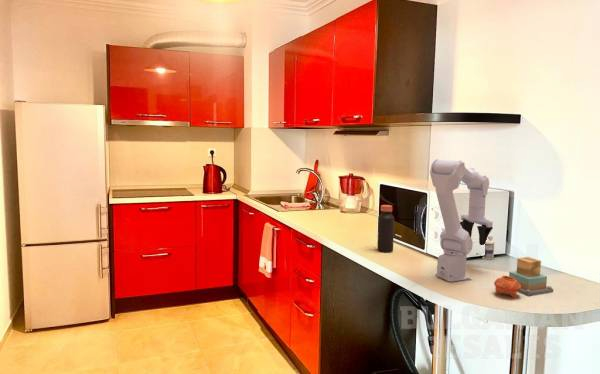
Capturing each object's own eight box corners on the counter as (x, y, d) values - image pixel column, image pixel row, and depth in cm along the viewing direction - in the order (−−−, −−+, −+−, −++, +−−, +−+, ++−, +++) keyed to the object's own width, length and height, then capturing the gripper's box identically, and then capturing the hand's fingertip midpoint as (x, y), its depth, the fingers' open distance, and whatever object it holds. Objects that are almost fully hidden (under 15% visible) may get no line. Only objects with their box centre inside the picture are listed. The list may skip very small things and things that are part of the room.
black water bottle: (380, 248, 204) (381, 204, 202) (395, 250, 201) (396, 205, 198) (374, 251, 199) (376, 206, 196) (389, 253, 195) (391, 207, 193)
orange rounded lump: (495, 287, 153) (502, 269, 151) (519, 298, 148) (526, 280, 146) (487, 293, 147) (494, 274, 145) (512, 304, 142) (519, 285, 140)
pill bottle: (481, 255, 194) (483, 232, 193) (495, 257, 190) (496, 234, 189) (477, 258, 190) (479, 235, 188) (491, 260, 186) (492, 237, 185)
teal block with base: (528, 296, 146) (529, 281, 145) (501, 285, 156) (502, 271, 156) (553, 291, 150) (554, 277, 149) (525, 281, 160) (526, 267, 160)
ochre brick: (528, 277, 149) (529, 262, 149) (516, 272, 154) (517, 258, 153) (540, 275, 151) (541, 260, 150) (527, 271, 156) (528, 256, 155)
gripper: (499, 209, 167) (497, 245, 168) (471, 203, 180) (469, 236, 182) (484, 210, 164) (482, 247, 166) (457, 204, 178) (455, 238, 179)
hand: (474, 242), depth 174 cm, fingers open, 7 cm apart
